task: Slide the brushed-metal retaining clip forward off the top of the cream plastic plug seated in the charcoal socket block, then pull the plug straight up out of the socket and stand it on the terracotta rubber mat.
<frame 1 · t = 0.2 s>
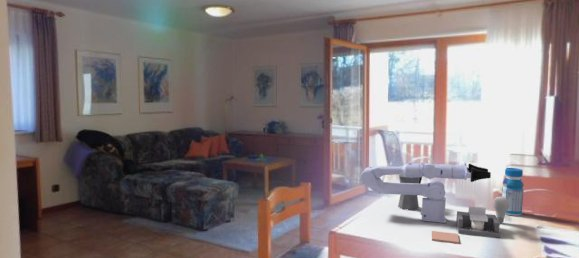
hand: (489, 173, 162), 21 cm above the table, tool horizontal, fingers open, 7 cm apart
coffeepot: (409, 207, 189), on the table
mat: (444, 237, 148), on the table
socket block: (477, 231, 156), on the table
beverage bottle: (511, 213, 180), on the table
clip: (477, 213, 156), point 7 cm above the table, slide at 0.0 cm
lightbulb: (499, 223, 167), on the table
plug: (477, 225, 156), in the socket block
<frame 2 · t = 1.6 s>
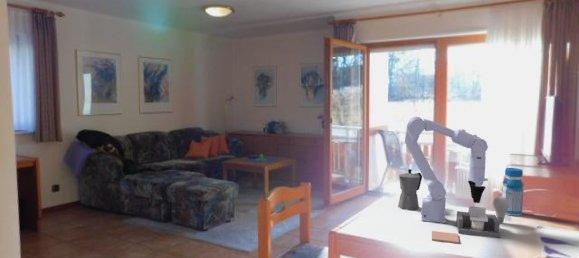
hand: (475, 200, 165), 9 cm above the table, tool pointing down, fingers open, 7 cm apart
nothing on the table moved.
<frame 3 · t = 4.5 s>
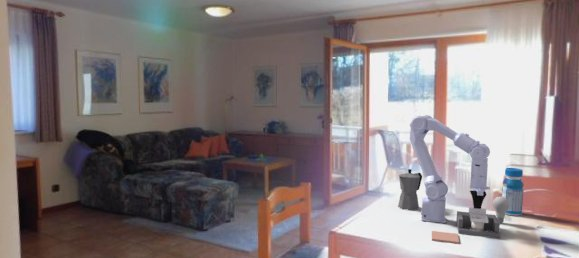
hand: (477, 209, 159), 7 cm above the table, tool pointing down, fingers closed
clip: (478, 214, 155), point 7 cm above the table, slide at 1.6 cm, touching gripper
everything else where it was.
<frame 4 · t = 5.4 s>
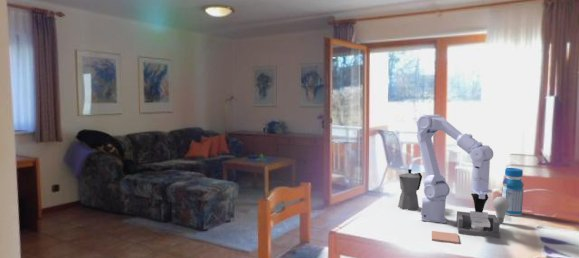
hand: (478, 213, 154), 7 cm above the table, tool pointing down, fingers closed
clip: (479, 218, 150), point 7 cm above the table, slide at 6.9 cm, touching gripper
everything else where it was.
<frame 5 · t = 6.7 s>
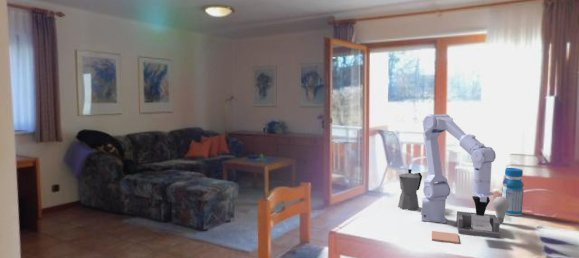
hand: (480, 216, 150), 7 cm above the table, tool pointing down, fingers closed
clip: (481, 222, 146), point 7 cm above the table, slide at 11.3 cm, touching gripper
everything else where it was.
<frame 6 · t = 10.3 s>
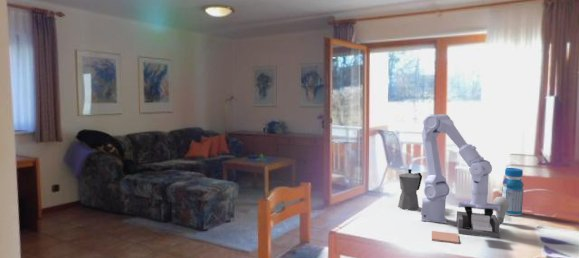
hand: (477, 227, 156), 2 cm above the table, tool pointing down, fingers closed on plug, 4 cm apart
clip: (481, 222, 146), point 7 cm above the table, slide at 11.4 cm
plug: (477, 225, 156), in the socket block, touching gripper
everything else where it was.
when the fingers open (4 cm above the table, at t = 14.4 s): plug drops 2 cm, resting on mat.
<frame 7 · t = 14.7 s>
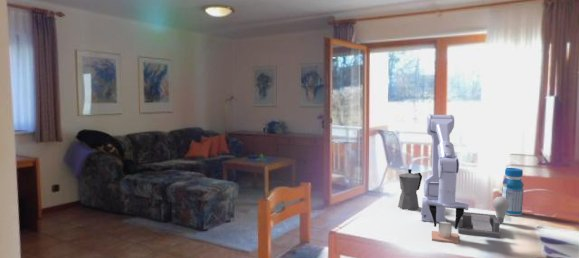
hand: (445, 227, 148), 4 cm above the table, tool pointing down, fingers open, 6 cm apart
plug: (445, 230, 148), on the mat, point 3 cm above the table
everything else where it was.
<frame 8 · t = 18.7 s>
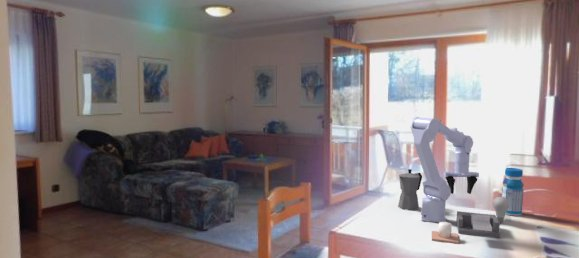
hand: (460, 193, 177), 9 cm above the table, tool pointing down, fingers open, 7 cm apart
nothing on the table moved.
at the end: clip slide at 11.4 cm; plug inside the target area (0.1 cm from its centre), point 2.9 cm above the table; plug tilted 1° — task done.
